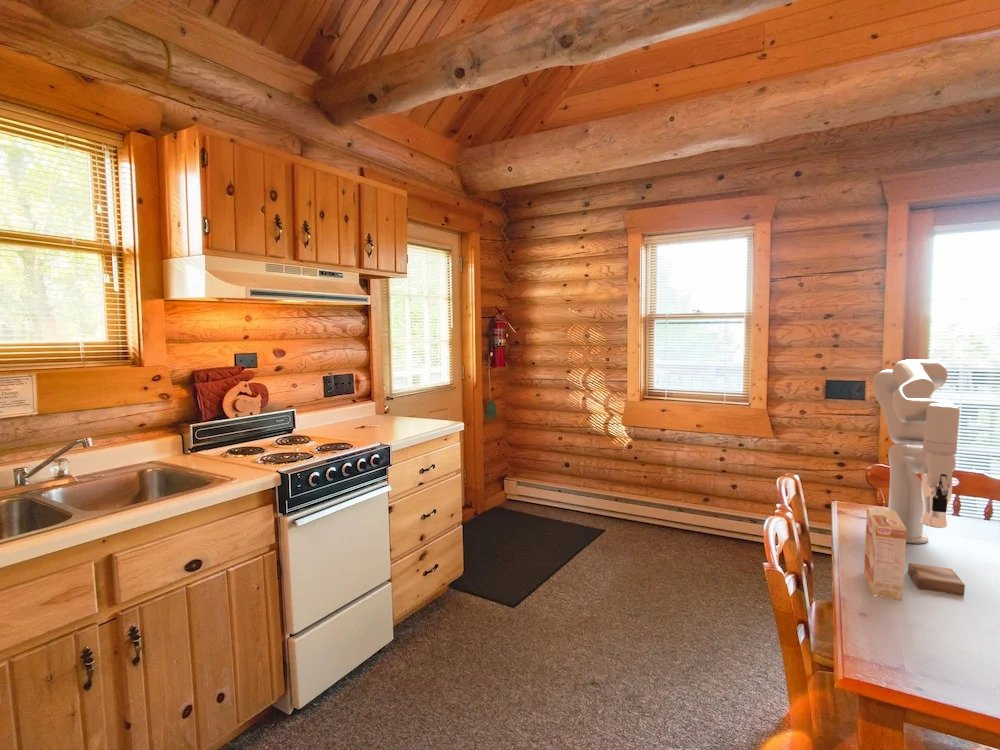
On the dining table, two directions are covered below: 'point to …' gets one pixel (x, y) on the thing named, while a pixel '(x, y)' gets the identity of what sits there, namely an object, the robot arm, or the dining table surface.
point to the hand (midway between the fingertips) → (935, 506)
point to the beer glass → (929, 515)
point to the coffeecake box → (885, 553)
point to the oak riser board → (936, 579)
